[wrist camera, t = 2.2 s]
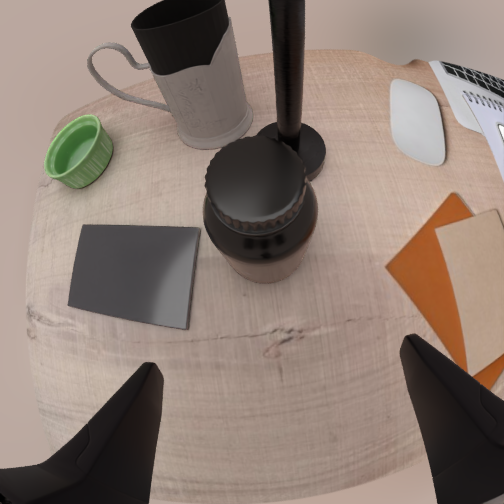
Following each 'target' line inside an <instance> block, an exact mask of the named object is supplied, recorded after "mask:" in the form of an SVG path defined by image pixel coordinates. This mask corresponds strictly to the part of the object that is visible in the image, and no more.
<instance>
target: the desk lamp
mask: <svg viewBox="0 0 504 504" xmlns="http://www.w3.org/2000/svg"><path fill="white" fill-rule="evenodd" d="M269 11H270V22H271V34H272V46H273V61H274V76H275V92H276V110H277V122H275V123H272V124H269V125H267V126H266V127H264V128H263V129H262V130H260V131H259V132H258V134H257V135H256V136H260V137H262V136H266V137H269V138H275V139H277V140H278V141H282V142H284V143H285V144H286V145H288V146H290V147H291V148H292V150H293V151H295V152H297V155H298V157H299V158H301V159H302V164H303V165H304V167H305V174H306V176H307V179H308V181H311V180H312V179H314V178H315V177H316V176H317V175H318V174H319V173H320V171H321V169H322V167H323V164H324V159H325V154H326V148H325V144H324V141H323V139H322V137H321V136H320V135H319V134H318V132H317V131H315V130H314V129H313V128H311V127H310V126H308V125H306V124H303V123H301V117H302V98H303V76H304V44H305V43H304V42H305V0H269Z"/></svg>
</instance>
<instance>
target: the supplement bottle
mask: <svg viewBox="0 0 504 504" xmlns="http://www.w3.org/2000/svg"><path fill="white" fill-rule="evenodd" d="M205 180H206V182H205V188H206V190H207V193H206V196H205V199H204V204H203V220H204V225H205V228H206V231H207V233H208V235H209V237H210V239H211V241H212V242H213V244H214V245H215V246H216V248H217V249H218V250H219V251H220V253H221V254H222V255H223V256H224V258H225V259H226V260H227V261H228V263H229V264H230V265H231V266H232V267H233V269H234V270H235V271H236V272H237V273H238V274H240V275H241V276H242V277H244V278H246V279H248V280H250V281H253V282H256V283H264V284H265V283H274V282H278V281H281V280H283V279H285V278H287V277H288V276H290V275H291V274H292V273H293V272H294V271H295V270H296V269H297V268H298V267H299V265H300V263H301V262H302V260H303V258H304V255H305V253H306V250H307V248H308V245H309V243H310V240H311V238H312V235H313V233H314V230H315V227H316V223H317V217H318V203H317V198H316V195H315V192H314V189H313V187H312V185H311V184H310V182H309V181H308V179H307V176H306V174H305V167H304V165H303V164H302V159H301V158H299V157H298V155H297V152H295V151H293V150H292V148H291V147H290V146H288V145H286V144H285V143H284V142H282V141H278V140H277V139H275V138H269V137H266V136H262V137H260V136H253V137H245V138H243V139H237V140H236V141H234V142H230V143H229V144H228V145H227V146H225V147H222V149H221V150H220V151H219V152H217V153H216V154H215V156H214V158H213V159H212V160H211V161H210V165H209V166H208V168H207V174H206V175H205Z"/></svg>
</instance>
